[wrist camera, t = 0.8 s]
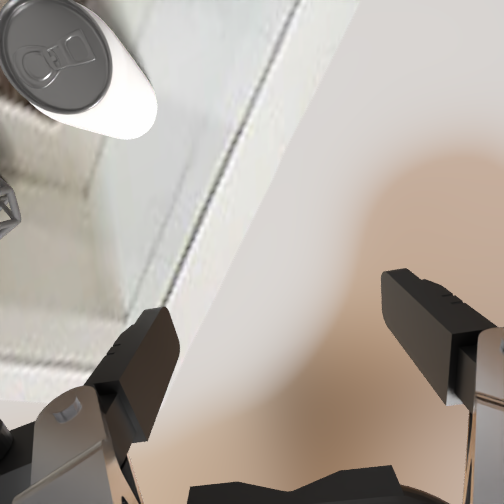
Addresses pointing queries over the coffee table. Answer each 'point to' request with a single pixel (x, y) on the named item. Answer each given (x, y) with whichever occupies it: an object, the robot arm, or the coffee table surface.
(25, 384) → the coffee table surface
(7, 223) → the geometric lantern
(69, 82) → the can
